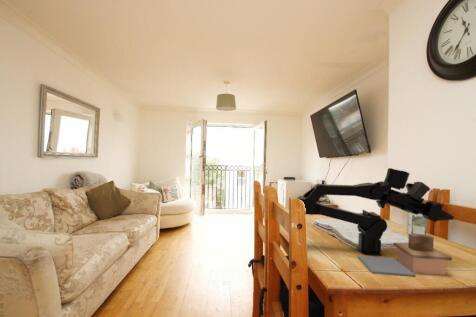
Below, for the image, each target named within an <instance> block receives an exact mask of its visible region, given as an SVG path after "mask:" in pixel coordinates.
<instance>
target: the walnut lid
mask: <svg viewBox="0 0 476 317" xmlns="http://www.w3.org/2000/svg"><path fill="white" fill-rule="evenodd" d="M392 244H393V246H394V247H395V248H397V250H398V249H400V250H401V251H403V252H404V253H406V254H407V255H409V256H410V257H412V258H424V259H439V260H446V261H453V260H452V259H453V258H452V256H450V255H447V254H446V253H444V252H442V251H441V250H439V249H436V248H434V236H432V235H430V234H426V235H420V234H409V235H408V243H401V242H393V243H392Z"/></svg>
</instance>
